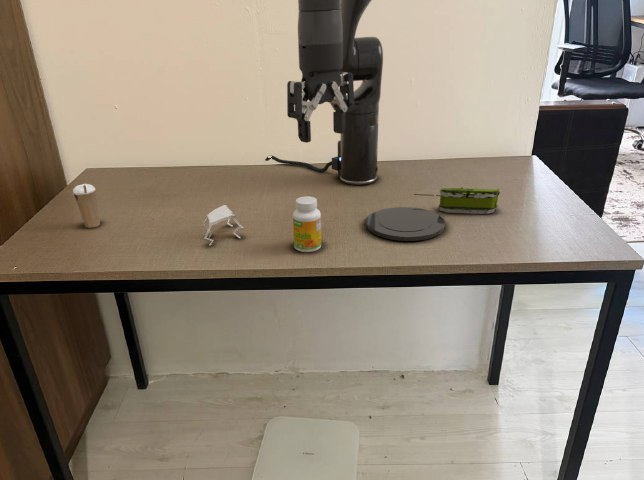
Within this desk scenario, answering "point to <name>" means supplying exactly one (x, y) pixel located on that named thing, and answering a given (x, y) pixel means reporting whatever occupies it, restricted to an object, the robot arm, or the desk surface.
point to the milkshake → (87, 204)
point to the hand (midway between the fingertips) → (322, 137)
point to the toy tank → (468, 200)
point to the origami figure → (218, 216)
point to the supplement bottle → (307, 225)
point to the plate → (405, 223)
